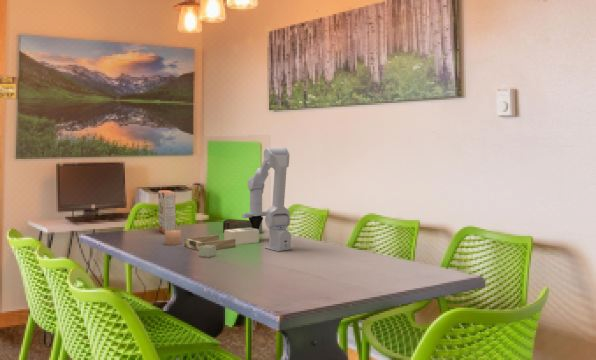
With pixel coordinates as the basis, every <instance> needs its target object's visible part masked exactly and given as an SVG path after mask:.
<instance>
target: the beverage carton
mask: <svg viewBox="0 0 596 360" xmlns="http://www.w3.org/2000/svg"><path fill="white" fill-rule="evenodd" d="M240 228H253V227H252V224H251V222H250V220H249V219H235V218H234V219H231V218H229V219H228V218H227V219H225V220H224V221H223V222H222V233H223V234H224V230H230V229H240ZM261 233H263V221H262V222H261V224H260V227H259V235H260V234H261Z"/></svg>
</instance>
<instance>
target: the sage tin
mask: <svg viewBox="0 0 596 360" xmlns="http://www.w3.org/2000/svg"><path fill="white" fill-rule="evenodd" d="M215 255H216V256H217V249H216V246H211V245H204V246H200V247H199V251H198V257H202V258H208V257H209V258H212V257H215Z"/></svg>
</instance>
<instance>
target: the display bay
mask: <svg viewBox="0 0 596 360" xmlns="http://www.w3.org/2000/svg"><path fill="white" fill-rule="evenodd" d="M204 245H211V246H216V250H222V249H231V248H234V247H235V248H236V245H235V239H227V240H224V239H220V234H211V235H202V236H195V237H188V238H184V247H185V248H189V249H193V250H195V251H198V250H199V247H200V246H204Z"/></svg>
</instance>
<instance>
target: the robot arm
mask: <svg viewBox="0 0 596 360" xmlns="http://www.w3.org/2000/svg"><path fill="white" fill-rule="evenodd" d="M290 155H291V154H290V152H289V149H288V148H287V147H266V148H265V149H264V151H263V161H262V164H261V166H260V167H258V168H257V169H256V171H255V173H254V174H253V176H251V177H249V178H248V180H247V188H248V190H249V212H247V213H245V212H244V213H241V218H242V219H248V220H250V222H251V224H252V227H253V228H255V229H258V230H259V227H260V224H261V222H262V223H263V220H264V223H265V226H266V227H267V228H268V229H269V235H268V238H269V241H268V242H269V244H268V245H269V246H265V249H268V250H273V251H276V252H282V251H287V250H289V251H290V250H292V249H293V248H292V246H291V245H292V244H291V242H292V240H291V239H292V236H291V232H290V231H289V230H287V229H288V227H289V226H290V224H291V215H290V210H289V209H288V208H287V207H285V198H286V196H285V195H286V182H287V181H286V180H287V171H288V169H287V168H289V167H290V157H291V156H290ZM271 168H272V169H273V170H274V174H273V187H272V188H273V189H272V190H273V191H272V203H271V204H272V205H271V206H270V207H269V208H268V209H267V210H266V211H263V193H264V189H265V183H266V180H267V178H268V176H269V171H270V169H271ZM264 217H265V218H264Z"/></svg>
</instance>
